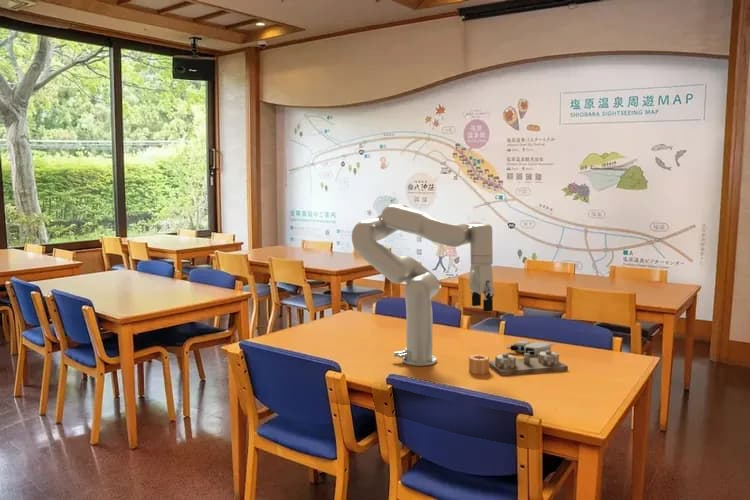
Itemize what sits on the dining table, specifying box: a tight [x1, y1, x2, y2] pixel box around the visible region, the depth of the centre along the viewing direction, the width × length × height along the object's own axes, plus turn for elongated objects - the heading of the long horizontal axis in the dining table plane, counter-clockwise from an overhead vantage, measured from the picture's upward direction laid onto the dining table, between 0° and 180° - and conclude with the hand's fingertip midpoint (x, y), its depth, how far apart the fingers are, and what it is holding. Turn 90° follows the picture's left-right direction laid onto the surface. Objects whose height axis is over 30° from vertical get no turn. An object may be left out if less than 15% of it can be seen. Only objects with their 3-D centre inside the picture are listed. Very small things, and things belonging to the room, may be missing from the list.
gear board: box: [489, 350, 569, 376], centre depth 218 cm, size 25×12×6 cm, turn 102°
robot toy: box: [506, 340, 555, 358], centre depth 236 cm, size 12×4×15 cm
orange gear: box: [468, 354, 490, 376], centre depth 214 cm, size 7×7×5 cm
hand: (482, 308), depth 215 cm, fingers open, 9 cm apart
